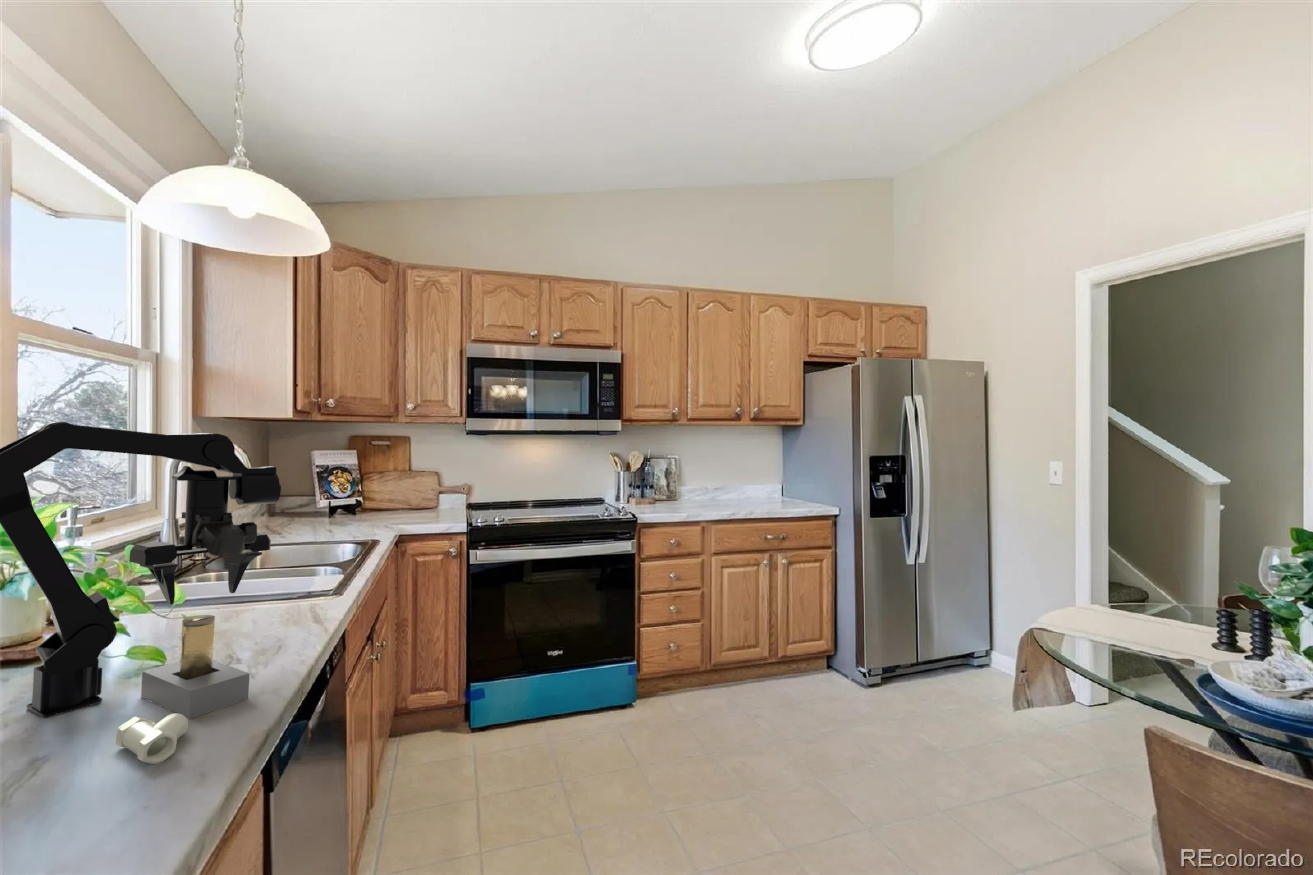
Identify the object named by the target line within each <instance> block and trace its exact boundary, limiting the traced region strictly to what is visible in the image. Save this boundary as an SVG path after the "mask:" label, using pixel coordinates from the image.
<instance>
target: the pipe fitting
mask: <svg viewBox="0 0 1313 875" xmlns="http://www.w3.org/2000/svg"><path fill="white" fill-rule="evenodd" d="M188 727H189V719H187V718H186V717H185V716H183V715H182V714H177V713H171V714H168V715H166V716H164V717H163V719H160V720H159V721H158V722H157V723H155V722H154V721H153V720H150V719H148V718H143V717H139V716H137V715H136V716H134V717H132V718H131V719H129V720H127V721H126V722H124V723H123V724H121V725H120V726H119V727H118V728H117V731H116V736H115V745H117V746H118V747H120V748H125V749H127V750H129V751H131V752H132V753H134V754H135V755H136V758H137V759H138V760H140V762H143V763H147V764H152V765H156V764H160V763H162V762H164V761H165V760H167V759H168V758H170V757H171V756H172V755H173V754H174V753H175V752H176V748H177V742H178V739H179V738H180V737H182V736H183V735H184V734H185V733H186V732H187V730H188Z"/></svg>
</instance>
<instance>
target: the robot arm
mask: <svg viewBox="0 0 1313 875" xmlns="http://www.w3.org/2000/svg"><path fill="white" fill-rule="evenodd" d="M235 448H236V447H235V444H234V442H233V441H232V440H231V439H230V438H229V436H227V435H225V434H220V433H209V432H208V433H206V432H200V433H199V432H197V433H173V434H172V433H169V434H166V433H165V434H163V433H152V432H144V431H143V432H142V431H137V430H136V431H135V430H134V431H133V430H127V429H125V430H124V429H117V428H116V429H115V428H107V427H97V426H89V425H80V424H72V423H69V422H67V421H51V422H47V423H45V424H44V425H42V426H41V427H40V428H39V429H37V430H35V431H33V432H31V433H29V434H27V435H25V436H23V437H21V438H18V439H16V440H15V441H12V442H11V443H10V442H9V443H8V444H6V445H4V446H3V447H0V526H1V528H2V530H3V531H4V533H5V535H7V537H8V539H9V540H10V542H11V544H12V545H13V547H14V549H15V550H16V552H17V554H18V555H19V557H20V558H21V559H22V562H23V563H24V565H25V566H26V568H27V570H28V572H29V573H30V575H32V577H33V580H34V581H35V582H36V583H37V585H38V587H39V588H40V591H41V592H42V593H43V595H44V597H45V598H46V600H47V603H48V606H49V611H50V615H51V620H52V621H53V625H54V629H55V632H54V633H53V634H51V635H50V636H49V637H48V638H46V639H45V640H44V641H43V642H42V643H40V644H39V645H38V646H37V647H35V651H36V653H37V655H38V658H39V659H40V661H41V662H42V663H43V664H42V665H39V666H35V667H34V668H33V679H32V680H33V682H32V694H31V696H32V698H31V699H32V700H31V703H28V704H27V705H26V709H27V710H29V711H31V712H33V713H34V714H36V715H38V716H39V717H41V718H43V719H44V718H50V717H53V716H56V715H59V714H63V713H67V712H72V711H75V710H78V709H81V708H85V707H88V706H92V705H95V704H98V703H101V702H103V698H102V697H100V695H101V694H102V685H103V684H102V683H103V667H101V666H100V665H99V660H100V659H99V656H100V655H101V652H102V651H103V650H105V649H107V648H108V647H110V645H111V644H112V643H113V642H114V640H115V638H116V635H118V634H117V633H118V629H117V626H116V624H115V623H117V622H120V618H118V616H116V615H115V614H114V613H113V612H112V610H111V609H110V605H109V602H108V600H107V597H105V596H104V595H103V594H102V593H101V592H99V591H95V592H94V593H92V594H90V595H88V594H86V592H84V591H83V589H82V587H81V586H80V585H79V582H78V581H77V579H76V578H75V576H74V574H73V573H72V571H71V569H70V567H69V566H68V564H67V563H66V561H65V559H64V557H63V556H62V554H61V553H60V551H59V549H58V548H57V545H55V543H54V541H53V539H52V538H51V536H50V534H49V532H47V530H46V528H45V526H44V525H43V523H42V521H41V519H40V518H39V516H38V515H37V513H36V512H35V510H34V507H33V503H32V498H31V494H30V489H29V486H28V483H27V480H26V477H25V473H27V472H29V471H30V470H32V469H34V468H36V467H38V466H40V465H41V464H43V463H44V462H46V461H47V460H49V459H50V458H53V457H54V456H56V455H57V454H58V453H60V452H63V451H64V450H68V449H71V450H72V449H73V450H85V451H93V452H94V451H96V452H109V453H119V454H131V455H141V456H142V455H143V456H153V457H162V458H164V459H165V458H167V459H169V460H175V461H179V462H183V463H187V464H192V465H197V466H201V467H208V468H209V467H210V468H214V469H215V470H217V471H218V472H219V471H220V472H225V473H231V474H232V475H217V473H216V471H215V470H213V469H209V470H205V469H203V470H202V469H201V470H200V469H199V470H197V469H196V470H195V469H193V468H192V467H191V466H189V465H184V466H183V467H182V468H181V469H180V470H179V471H178V472H176V473H175V474H173V475H172V476H171V479H172V480H175V481H180V482H184V481H185V482H186V499H185V500H186V501H185V511H182V512H181V519H183V520H184V535H181V536H180V540H179V543H181V544H174V543H170V542H165V541H164V542H163V541H153V542H152V541H151V542H142V543H135V544H134V546H132V547H131V549H130V551H129V562H130V563H134V564H138V565H139V567H142V568H146V569H148V571H149V573H150V574H151V576H153V577H154V579H155V581H156V583H157V584H158V587H159V589H160V591H161V593H162V594H163V597H164V599H165V600H166V603H167V604H168V605H174V603H175V596H176V592H175V591H176V587H175V586H176V585H175V584H176V583H175V580H176V579H175V577H176V576H175V574H176V571H177V568H178V566H179V564H178V563H175V562H173V561H175V559H176V558H177V557H180V556H181V557H182V556H191V555H197V554H206V553H209V554H210V555H211V556H214V557H215V556H216V557H221V556H224V555H228V556H227V561H228V562H227V566H228V567H227V568H228V569H227V570H228V571H227V574H228V575H227V576H228V578H227V579H228V580H227V583H228V584H227V586H228V591H229V593H230V594H235V593H236V591H237V590H238V588H239V585H240V583H241V580H242V578H243V576H244V574H245V571H247V568H248V567H249V565H250V563H251V562H252V561H253V560H255V558H257V557H259V556H263V552H264V551H265V552H266V551H270V550H271V543H272V540H271V538H270V537H269V536H268V534H267V533H261V532H258V525H257V524H256V523H255V522H253V521H249V522H241V523H240V524H234V522H233V514H232V512H231V511H229V510H228V509H229V498H230V499H231V500H235V501H236V503H237V505H239V506H244V505H245V506H246V505H247V506H248V505H266V504H268V505H270V504H276V503H278V501H279V500H280V497H281V491H282V485H281V484H280V478H279V475H278V474H277V467H276V466H260V467H247V466H246V465H245V464H244V462H243V461H242V460H241V459H240V458H239V456H238V455H237V454H236V450H235ZM228 511H229V512H228Z"/></svg>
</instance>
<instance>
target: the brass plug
mask: <svg viewBox="0 0 1313 875" xmlns="http://www.w3.org/2000/svg"><path fill="white" fill-rule="evenodd" d="M215 619H216V616H215V615H212V614H201V615H194V616H189V617H186V618H185V617H184V618H183V619H182V622H181V625H182V626H181V642H180V661H179V662H180V678H184V679H191V678H196V677H200V676H203V675H207V674H210V673H211V672H212V665H213V660H214V642H215V640H214V639H215V621H216V620H215Z"/></svg>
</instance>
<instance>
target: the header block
mask: <svg viewBox="0 0 1313 875" xmlns="http://www.w3.org/2000/svg"><path fill="white" fill-rule="evenodd" d="M249 691H250V672H248V671H245V670H241V669H239V668H236V667H233V666H231V665H227V664H225V663H222V662H219V661H216V660H214V659H213V665H212V672H211V673H210V674H207V675H203V676H200V677H196V678H191V679H184V678H180V661H177V662H172V663H168V664H165V665H164V664H163V665H161V666H158V667H157V666H156V667H153V668H150V669H145V670H142V673H141V691H140V692H141V694H140V697H141V698H142V697H143V698H142V699H144V698H145V699H144V700H146V699H147V701H148V700H150V701H149V702H151V701H152V702H151V703H153V702H154V703H153V704H155V705H157V704H158V705H157V706H159V705H161V706H162V708H164V709H166V710H168V711H170V712H173V714H175V713H177V714H182V715H183V716H185V717H186V718H187V720H190V719H193V718H197V717H198V716H203V715H205V714H208V713H210V712H214V711H217V710H220V709H223V708H227V707H229V706H232V705H234V704H238V703H241V702H244V701H247V700H249ZM161 706H160V707H161Z"/></svg>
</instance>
